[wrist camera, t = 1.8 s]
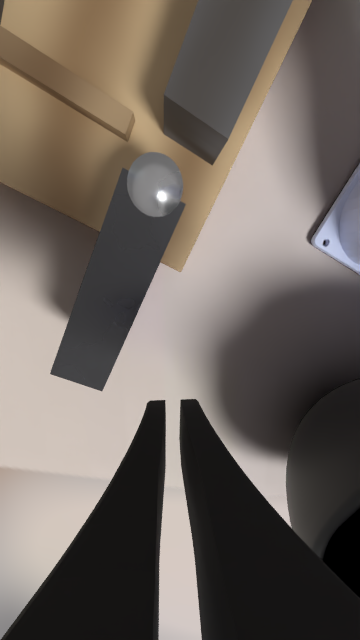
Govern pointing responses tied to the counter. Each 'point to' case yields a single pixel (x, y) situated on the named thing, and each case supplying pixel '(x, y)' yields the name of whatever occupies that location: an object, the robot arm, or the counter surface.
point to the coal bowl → (329, 482)
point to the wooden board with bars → (134, 96)
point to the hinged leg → (121, 268)
